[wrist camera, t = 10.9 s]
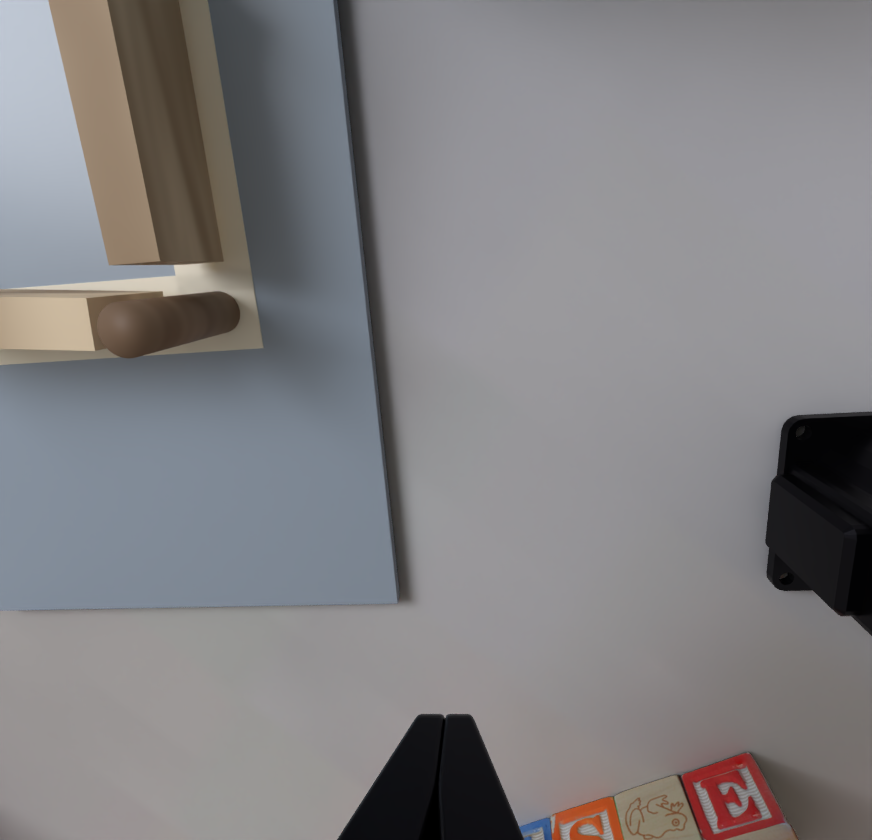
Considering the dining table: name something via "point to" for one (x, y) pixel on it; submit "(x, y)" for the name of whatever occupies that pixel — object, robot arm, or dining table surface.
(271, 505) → the mat
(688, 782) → the stack of blocks
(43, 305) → the bar
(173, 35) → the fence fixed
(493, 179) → the dining table surface
